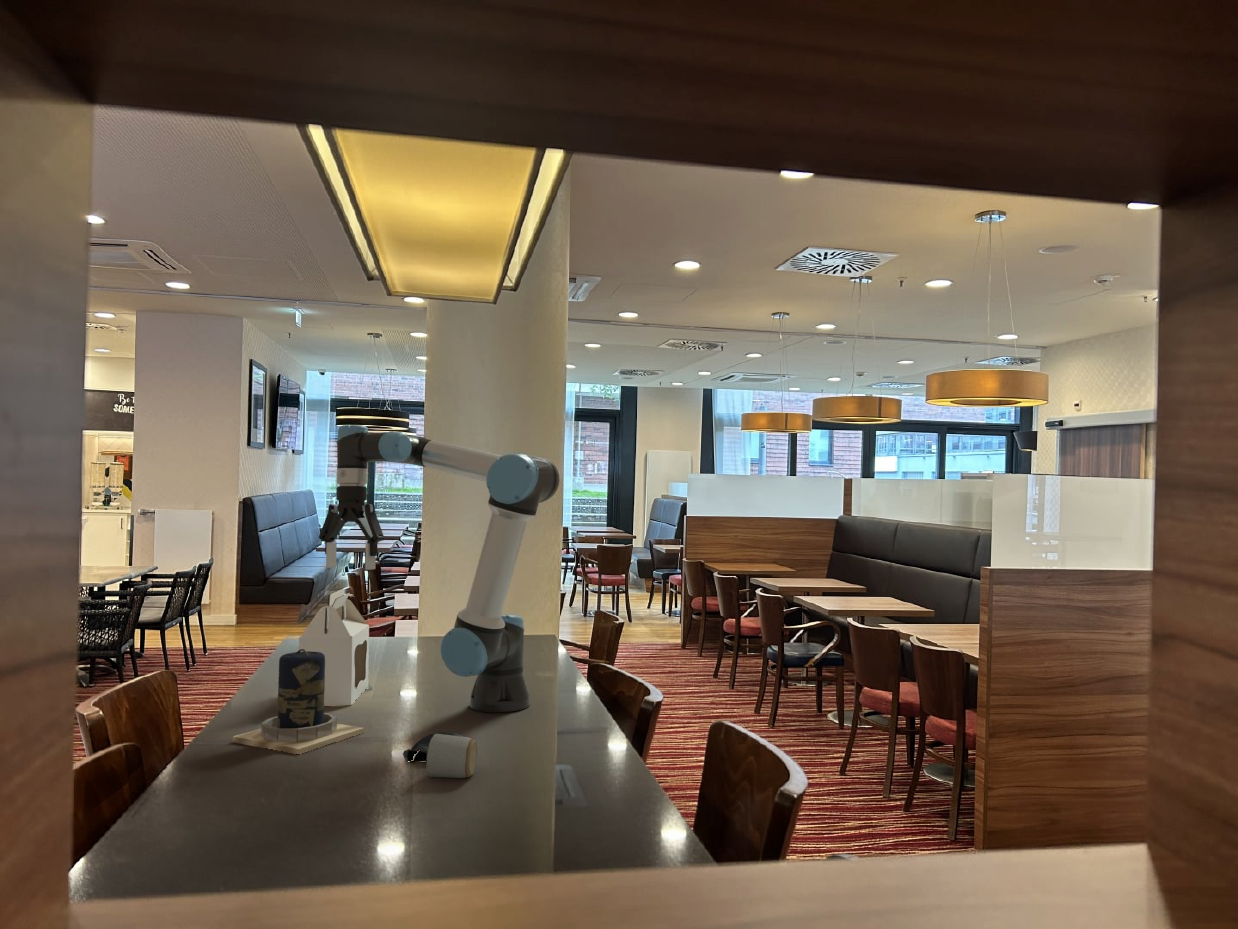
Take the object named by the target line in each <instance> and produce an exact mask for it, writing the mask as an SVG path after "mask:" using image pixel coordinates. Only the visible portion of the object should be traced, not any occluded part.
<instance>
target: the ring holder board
mask: <svg viewBox="0 0 1238 929" xmlns="http://www.w3.org/2000/svg"><path fill="white" fill-rule="evenodd" d="M277 719H278V715H277V716H273V717H270V718H269V717H268V718H267V719H265V720H264V721H263V722H261V723H260V724H261V727H260V728H257V729H255V730H251V731H248V732H244V733H240V734H237V735H233V736H232V743H234V742H235V744H238V745H239V744H241V745H245V746H251V747H257V748H262V749H265V748H268V749H267V750H270V749H273V750H272V751H276V750H277V751H276V752H281V751H283V752H282V753H286V752H287V754H291V753H292V754H291V755H296V754H300V755H303V754H306V753H309V752H312V751H314V750H313V749H315V748H318V749H321V748H323V747H322V746H324V747H326V746H325V745H327V744H330V743H333V742H336V743H339V742H342V741H345V740H347V739H346V738H348V739H350V738H349V737H351V736H354V737H357V736H360V735H362V733H363V734H364V732H365V727H360V726H354V725H348V724H342V723H338V717H337V716H336V715H334V713H333V714H332V713H328V712H324V723H323V724H320V725H317V726H311V727H304V728H289V729H280V728H278V727H277ZM359 734H360V735H359ZM356 735H357V736H356ZM351 738H352V737H351ZM344 739H345V740H344ZM341 740H342V741H341ZM333 744H334V743H333ZM330 745H331V744H330ZM327 746H328V745H327ZM320 747H321V748H320ZM311 750H312V751H311ZM315 750H316V749H315ZM308 751H309V752H308ZM305 752H306V753H305ZM302 753H303V754H302Z"/></svg>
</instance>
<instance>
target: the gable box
mask: <svg viewBox="0 0 1238 929" xmlns="http://www.w3.org/2000/svg"><path fill="white" fill-rule="evenodd" d="M350 593H351V592H347V593H345V588H340V589H338V590H335V591H333V592H330V593H329V594H328V596H327V605H324V606H322V607H321V608H319V610H318V611H317V612H316V614H315V615H314V617H313V618H312V620H311V621H310V623H308V625H307V627H306V628H305V630H304V631H303V633H302V634H301V636H299V638H298V651H299V650H300V649H304V650H305V651H311V652H321V653H323V654H324V656H325V691H324V706H331V707H336V706H335V705H351V706H353V704H354V703H355V702H356V701H357V700H358V699H359V698H358V697H360V696H362V694H363V693H364V692H366V690H367V689H368V688H369V658H370V657H369V654H370V653H369V652H370V651H369V648H370V646H369V645H370V644H369V643H370V641H369V640H370V624H368V622H367V621H366V620H365V618H364V617H363V616H362V614H361V613H360V611H359V610H358V608H357V607H356V606H355V604H354V603H353V601H352V600H351V599H349V596H350ZM300 652H304V651H300ZM355 687H356V689H355ZM367 687H368V688H367ZM366 688H367V689H366ZM365 689H366V690H365ZM361 693H362V694H361ZM356 699H357V700H356ZM355 700H356V701H355ZM333 705H334V706H333Z"/></svg>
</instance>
